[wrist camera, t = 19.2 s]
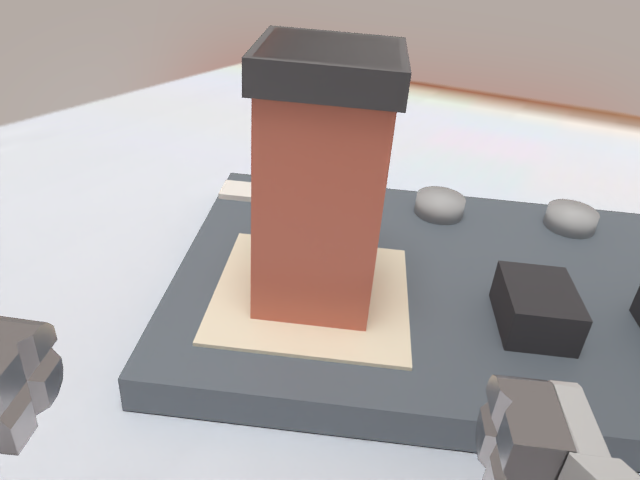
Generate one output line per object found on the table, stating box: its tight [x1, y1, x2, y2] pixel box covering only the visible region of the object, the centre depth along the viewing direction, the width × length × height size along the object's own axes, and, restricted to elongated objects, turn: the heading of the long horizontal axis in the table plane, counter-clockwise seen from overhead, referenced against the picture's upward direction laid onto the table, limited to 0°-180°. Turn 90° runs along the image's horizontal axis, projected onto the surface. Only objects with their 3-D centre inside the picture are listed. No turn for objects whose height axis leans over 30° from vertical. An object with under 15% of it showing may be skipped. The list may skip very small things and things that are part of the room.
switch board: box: [118, 173, 640, 472], centre depth 26 cm, size 24×17×3 cm
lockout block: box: [242, 26, 411, 332], centre depth 22 cm, size 5×5×10 cm
